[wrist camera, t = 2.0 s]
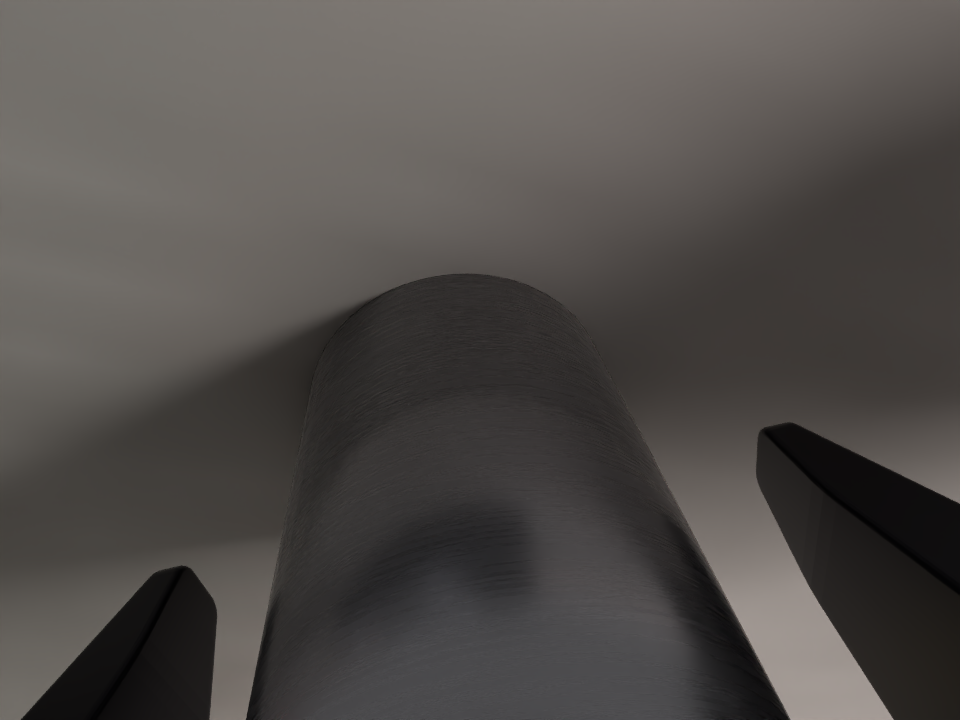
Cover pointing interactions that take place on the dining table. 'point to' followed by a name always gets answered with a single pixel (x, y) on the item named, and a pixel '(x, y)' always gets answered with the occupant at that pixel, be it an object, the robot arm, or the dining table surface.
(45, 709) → the robot arm
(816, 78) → the dining table surface
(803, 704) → the dining table surface
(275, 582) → the lens
